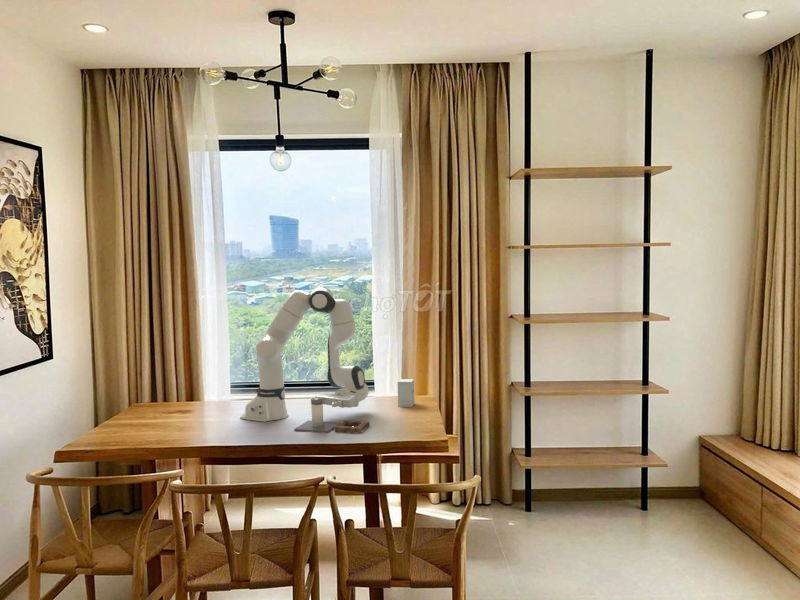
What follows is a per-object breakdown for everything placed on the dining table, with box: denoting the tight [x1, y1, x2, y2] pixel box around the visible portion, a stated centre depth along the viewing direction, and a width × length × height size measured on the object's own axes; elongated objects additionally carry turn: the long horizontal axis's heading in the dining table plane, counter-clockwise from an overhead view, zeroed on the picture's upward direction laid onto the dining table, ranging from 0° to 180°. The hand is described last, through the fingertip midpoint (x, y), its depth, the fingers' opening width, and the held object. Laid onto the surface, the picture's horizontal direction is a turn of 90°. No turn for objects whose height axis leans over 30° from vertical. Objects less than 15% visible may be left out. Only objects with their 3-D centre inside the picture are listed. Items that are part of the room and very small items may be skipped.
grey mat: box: [293, 420, 341, 434], centre depth 279 cm, size 16×14×1 cm
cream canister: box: [310, 397, 324, 427], centre depth 279 cm, size 5×5×12 cm
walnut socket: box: [334, 419, 370, 434], centre depth 275 cm, size 12×12×2 cm
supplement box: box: [397, 378, 415, 408], centre depth 316 cm, size 7×7×13 cm
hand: (324, 404), depth 283 cm, fingers open, 8 cm apart
